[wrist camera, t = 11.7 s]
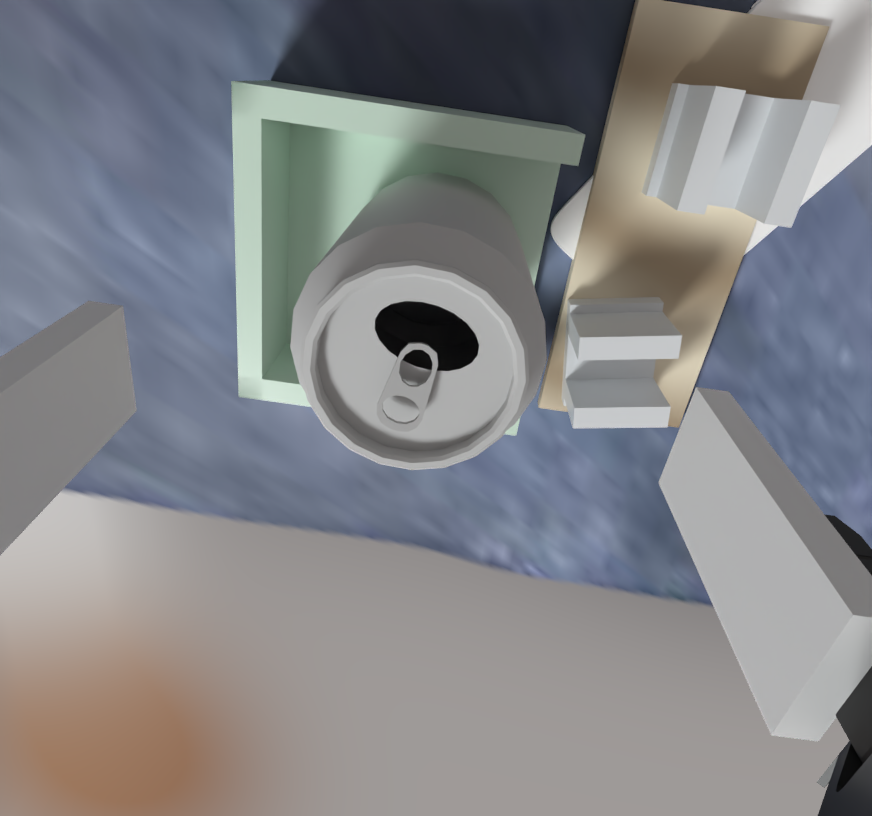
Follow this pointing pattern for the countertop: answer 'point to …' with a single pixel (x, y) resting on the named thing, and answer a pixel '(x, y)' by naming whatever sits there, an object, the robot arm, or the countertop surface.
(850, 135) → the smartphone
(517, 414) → the can
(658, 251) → the board
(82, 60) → the countertop surface
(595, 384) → the clip
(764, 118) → the clip
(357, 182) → the green open box
